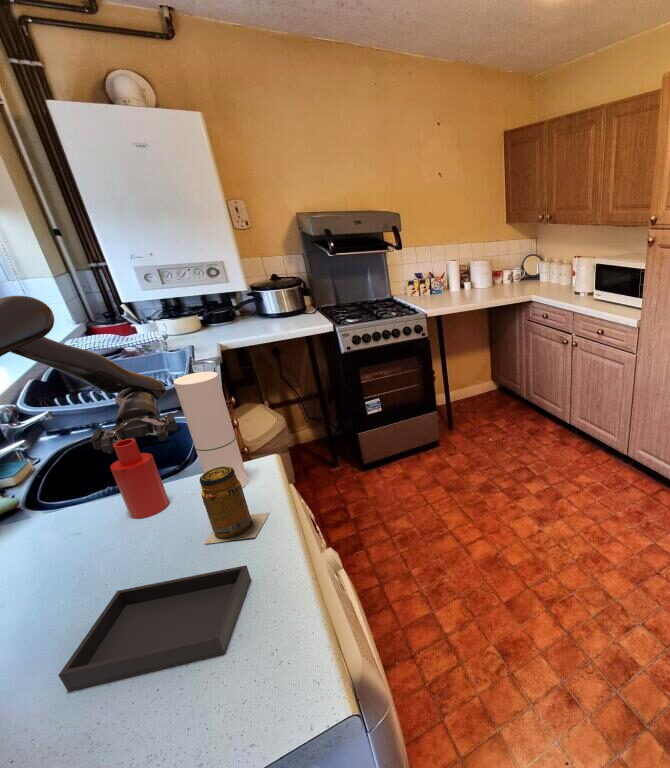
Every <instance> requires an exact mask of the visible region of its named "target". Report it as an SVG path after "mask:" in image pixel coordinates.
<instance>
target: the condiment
mask: <svg viewBox="0 0 670 768" xmlns="http://www.w3.org/2000/svg"><path fill="white" fill-rule="evenodd" d="M199 483H200V488H201V493H200V495H201V499H202V502H203V506H204V507H205V512H206V514H207V517H208V520H209V523H210V525H211V529H212V533H211V534H210V535H209V536H208V538H207V539H206V540H205V542H204V543H203V544H204V545H206V544H217V543H225V542H232V541H238V540H239V541H240V540H246V539H252V538H256V537H257V535H258V534H259V532H260V530H261V529H262V528H263V525H264V524H265V522H266V520H267V518H268V516H269V514H270V512H263V513H262V512H261V513H250V510H249V505H248V503H247V499H246V497H245V493H244V491H243V489H244V488H242V486H241V483H240V481H239V480H238V479H237V477H236V475H235V471H234V469H233V468H231V467H226V466H223V467H218V468H214V469H211V470H209V471H207V472H205V473H202V475H200V477H199Z"/></svg>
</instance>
